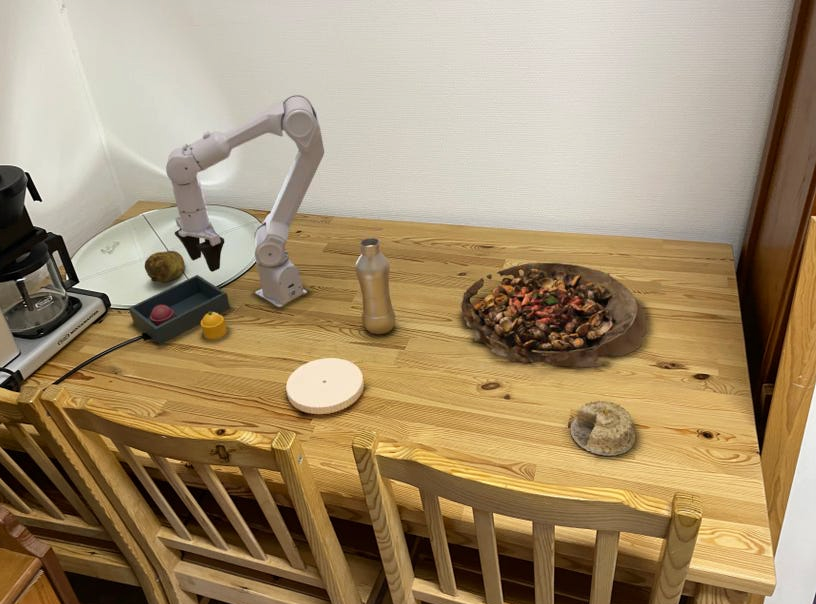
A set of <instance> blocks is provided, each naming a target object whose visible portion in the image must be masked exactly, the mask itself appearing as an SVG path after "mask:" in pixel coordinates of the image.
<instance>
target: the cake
mask: <svg viewBox="0 0 816 604" xmlns="http://www.w3.org/2000/svg"><path fill="white" fill-rule="evenodd" d="M569 430H570V434H571V437H572V439H573V440H574V441H575V442H576V444H577V445H578V446H579V447H581V448H582V449H584V450H586V451H588V452H590V453H592V454H596V455H600V456H604V457H607V456H608V457H610V456H611V457H612V456H617V455H622V454H624V453H626V452H628V451H630V450H631V448H633V447H634V445H635V442H636V433H635V430H634V424H633V419H632V415H630V412H629V411H627V410H626V409H625V408H624V407H622V406H621V404H617V403H614V402H609V401H607V400H603V401H601V400H596V401H590V402H589V403H588V402H586V403H585V404H584V405H582V406H581V407H580V408H578V409H577V411H576V416H574V418H573V420H572V421H571V424H570V428H569Z"/></svg>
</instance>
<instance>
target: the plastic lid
mask: <svg viewBox="0 0 816 604" xmlns="http://www.w3.org/2000/svg"><path fill="white" fill-rule="evenodd" d="M364 382H365V381H364V376H363V373H362V370H361V369H360V367H358V366H357V364H355V363H353V362H352V361H350V360H347V359H343V358H338V357H326V358H325V357H324V358H317V359H314V360H310V361H308V362H306V363H304V364H302V365H301V366H299V367H297V368H296V369H295V370H294V371H293V372H292V373H291V374H290V375H289V377H288V379H287V382H286V385H285V388H286V389H285V390H286V395H287V399H288V401H289V403H290V404H291V405H292V407H294V408H296V410H298V411H301V412H304V413H307V414H311V415H313V414H314V415H316V414H317V415H323V414H324V415H326V414H331V413H332V414H333V413H337V412H340V411H341V410H344V409H347V407H350V406H351V405H353V404H354V403H355V402H356V401H357V400H359V397H361V395H362V393H363V392H364V391H363V390H364V388H365V387H364V386H365V383H364Z"/></svg>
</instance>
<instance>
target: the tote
mask: <svg viewBox="0 0 816 604" xmlns="http://www.w3.org/2000/svg"><path fill="white" fill-rule="evenodd" d="M158 305H166V306H168V307H169V308H170V309H172V310H173V312H174V315H176V316H177V317H175V318H173V319H171V320H169V321H167V322H165V323H163V324H161V325H159V326H156V325H154V324H153V323H152V322H151V319H150V315H151V312H152V310H153V308H154V307H156V306H158ZM230 309H231V305H230V301H229V297H228V294H227V292H226V291H224V290H222V289H220V288H219V287H218V286H216V285H214V284H213V283H211V282H210V281H208V280H206V279H205V278H203V277H201V275H199V274H196V275H193V276H191V277H189V278H188V279H186V280H184V281H181V282H178V283H177V284H175V285H173V286H171V287H168V288H167V289H165V290H162V291H160V292H159V293H156V294H155V295H152V296H150V297H149V298H145V299H144V300H142V301H140V302H138V303H136V304H134V305H131V306H130V307H128V311H129V313H130V316H131V318H132V322H133V324H134V325H135V326H136V327H138V328H139V329H140V330H141V331H143V332H144V333H145V334H146V335H148V336H149V337H150V338H151V339H152V340H154V341H155V342H156V343H157V344H159V345H160V346H161V345H164V344H165V343H167V342H169V341H172V340H173V339H175V338H177V337H178V336H181V335H183V334H184V333H187V332H188V331H191V330H192V329H194V328H196V327H198V326H201V320H202V319H203V317H204V316H205V315H206V314H207V313H208V312H209V311H211V312H215V313H218V314H219V315H222V314H223V313H225V312H227V311H228V310H230Z"/></svg>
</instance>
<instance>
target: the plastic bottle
mask: <svg viewBox="0 0 816 604" xmlns="http://www.w3.org/2000/svg"><path fill="white" fill-rule="evenodd" d="M381 251H382V248H381V242H380V239H378V238H376V237H367V238H363V239H362V240H360V242H359V253H360V256H358V258H357V260H356V262H355V268H354V269H355V274H356V277H357V280H358V284H359V287H360V291H361V297H362V315H361V318H362V319H361V320H362V324H363V326H364V329H366V330H367V332H368V333H370V334H373V335H383V334H387V333H389V332H391V331H392V330H393V328H394V327H395V325H396V317H397V316H396V313H395V309H394V307H393V303H392V300H391V299H392V298H391V295H390V263H389V260H388V259H387V258H386V257H385V254H383V253H382V252H381Z"/></svg>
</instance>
